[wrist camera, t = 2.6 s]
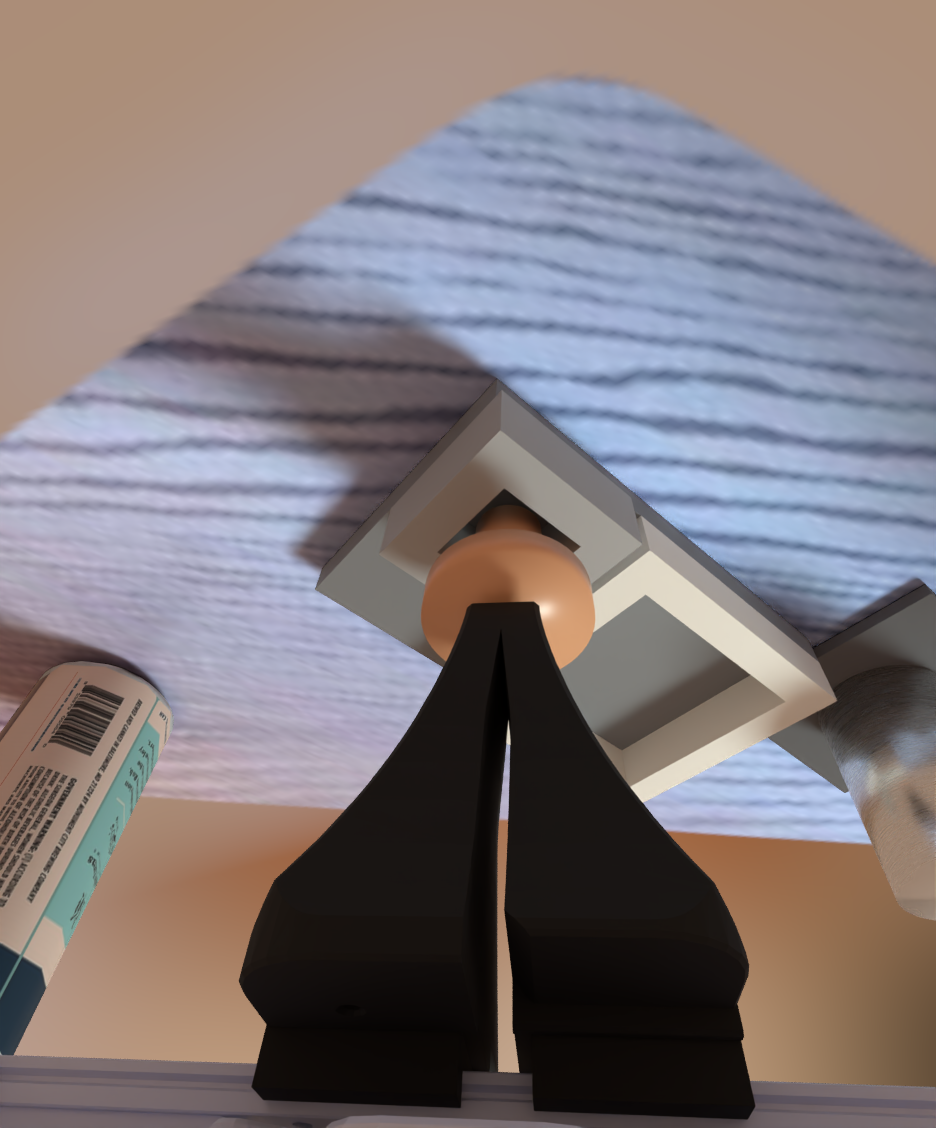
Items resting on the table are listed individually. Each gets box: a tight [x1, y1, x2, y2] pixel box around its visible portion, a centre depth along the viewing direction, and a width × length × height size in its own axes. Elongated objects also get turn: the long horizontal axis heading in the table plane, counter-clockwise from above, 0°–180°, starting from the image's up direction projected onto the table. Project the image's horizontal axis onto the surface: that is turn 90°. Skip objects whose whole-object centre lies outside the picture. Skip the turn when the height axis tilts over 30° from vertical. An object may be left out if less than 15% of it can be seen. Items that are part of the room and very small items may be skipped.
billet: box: [818, 665, 936, 920], centre depth 20 cm, size 4×4×6 cm
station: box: [315, 379, 837, 803], centre depth 20 cm, size 13×8×3 cm, turn 50°
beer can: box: [0, 661, 174, 1055], centre depth 20 cm, size 5×5×12 cm
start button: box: [421, 505, 595, 669], centre depth 15 cm, size 4×4×3 cm
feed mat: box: [768, 584, 936, 793], centre depth 23 cm, size 7×7×1 cm
